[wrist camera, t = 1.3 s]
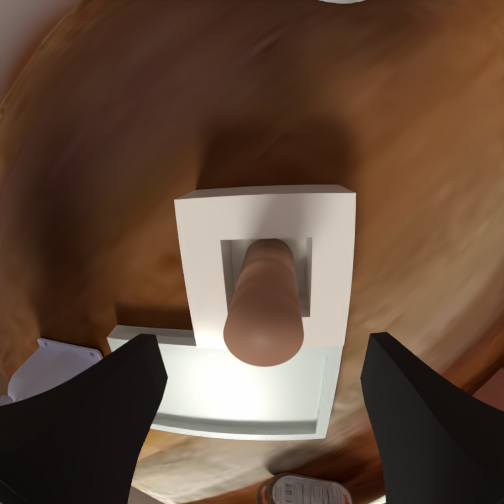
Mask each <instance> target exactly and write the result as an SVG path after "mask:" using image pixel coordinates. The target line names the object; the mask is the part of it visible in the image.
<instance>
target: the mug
mask: <svg viewBox="0 0 504 504" xmlns="http://www.w3.org/2000/svg"><path fill="white" fill-rule="evenodd" d="M321 1H325V2H331V3H355V2H360V1H364V0H321Z"/></svg>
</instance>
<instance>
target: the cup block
mask: <svg viewBox="0 0 504 504" xmlns="http://www.w3.org/2000/svg"><path fill="white" fill-rule="evenodd" d="M174 202H175V211H176V220H177V228H178V236H179V243H180V251H181V258H182V265H183V272H184V278H185V284H186V291H187V297H188V302H189V308H190V314H191V319H192V325H193V330H194V335H195V340H196V345H197V347H208V348H227V346H226V344H225V342H224V338H223V330H224V326H225V322H226V319H227V315H228V312H229V309H230V305H231V302H232V298H233V295H234V292H235V288H236V285H237V282H238V278H239V275H240V271H241V268H242V265H243V261H244V258H245V255H246V252H247V249H248V248H249V246H250V245H251V244H252V243H253V242H255V241H256V240H258V239H270V238H277V239H279V240H281V241H283V242H284V243H286V244H287V245H288V247H289V248H290V250H291V252H292V254H293V260H294V266H295V273H296V280H297V286H298V293H299V300H300V307H301V315H302V322H303V330H304V340H303V344H302V346H301V348H310V347H329V346H344V341H345V334H346V327H347V319H348V311H349V302H350V292H351V281H352V269H353V256H354V238H355V212H356V193H354V192H352V191H350V190H348V189H346V188H344V187H342V186H340V185H275V186H250V187H231V188H215V189H202V190H194V191H192V192H190V193H188V194H186V195H184V196H181V197H179V198H177V199H175V200H174Z"/></svg>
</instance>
